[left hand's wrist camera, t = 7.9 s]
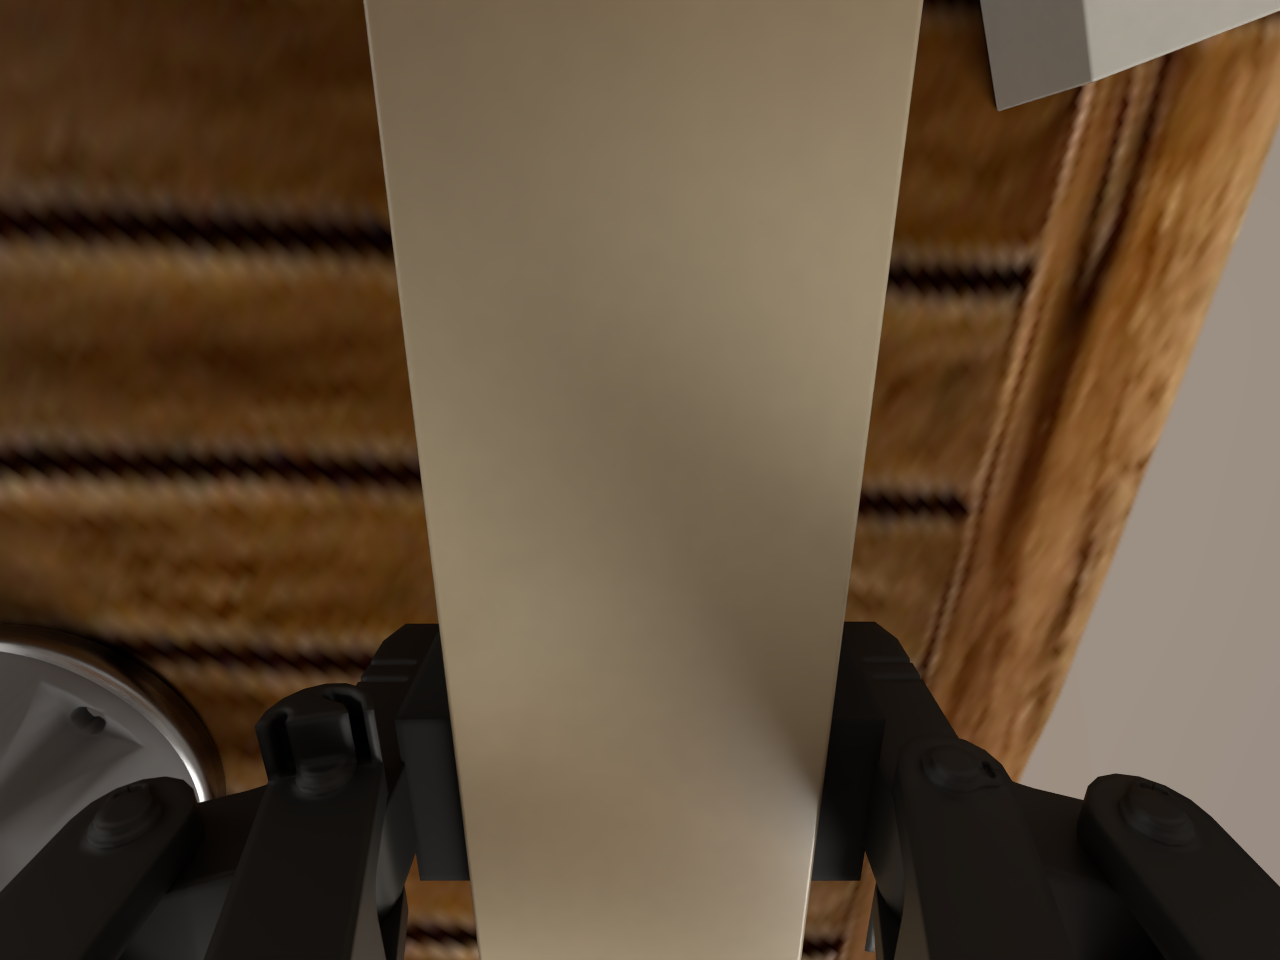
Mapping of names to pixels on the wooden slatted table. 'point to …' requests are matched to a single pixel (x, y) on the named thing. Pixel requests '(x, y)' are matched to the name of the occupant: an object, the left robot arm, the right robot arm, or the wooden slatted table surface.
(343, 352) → the wooden slatted table surface
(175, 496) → the wooden slatted table surface
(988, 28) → the grey block
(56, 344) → the wooden slatted table surface
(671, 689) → the ash bar
